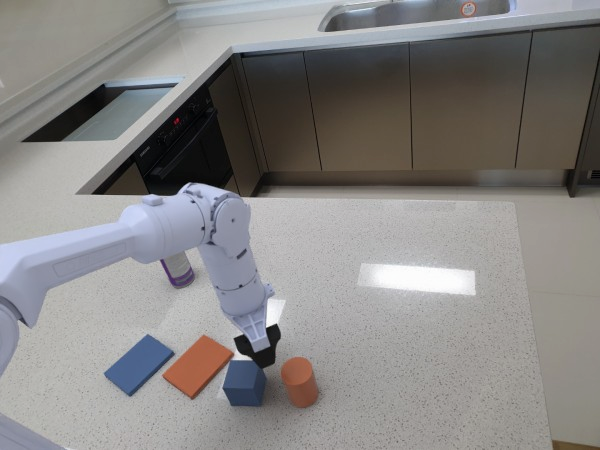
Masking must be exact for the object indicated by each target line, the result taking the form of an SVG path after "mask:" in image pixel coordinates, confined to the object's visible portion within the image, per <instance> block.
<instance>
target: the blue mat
mask: <svg viewBox="0 0 600 450" xmlns="http://www.w3.org/2000/svg"><path fill="white" fill-rule="evenodd" d="M174 355H175V352H174V350H172V349H171V348H169V347H168V346H166V345H165V344H163V343H162V342H161V341H159V340H158V339H156V338H155V337H153V336H152V335H150V334H149V333H146V335H144V336H143V337H142V338H141V339H140V340H139V341H138V342H137V343H135V344H134V345H133V346H132V347H131V348H130V349H129V350H128V351H127V352H125V353H124V354H123V355H122V356H121V357H120V358H119V359H118V360H117V361H116V362H114V363H113V364H112V365H111V366H109V368H107V369H106V371H104V372H103V375H104V376H105V378H107V379H108V380H109V381H111V383H113V384H114V385H115V386H117V387H118V388H119V389H120V390H121V391H123V392H124V393H125V395H127V396H129V397H132V396H133V395H134V394H135V393H136V392H138V390H139V389H140V388H141V387H142V386H143V385H144V384H145V383H146V382H147V381H148V380H150V378H151V377H152V376H153V375H154V374H156V373H157V372H158V371H159V370H160V369H161V368H162V367H163V366H164V365H165V364H166V363H167V362H168V361H169V360H170V359H171V358H172V357H173V356H174Z"/></svg>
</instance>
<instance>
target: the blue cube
mask: <svg viewBox="0 0 600 450" xmlns="http://www.w3.org/2000/svg"><path fill="white" fill-rule="evenodd" d="M267 380H268V378H267V375H266V373H265V370H264V369H261V368H259V367H258V366H257V365H256V363H255V362H254V361H253V360H252V359H230V360H229V363H228V367H227V370H226V374H225V377H224V380H223V384H222V387H221V389H222V391H223V392H224V395H225V397H226V399H227V400H228V402H229V405H230V406H232V407H233V406H234V407H235V406H236V407H237V406H239V407H241V406H242V407H262V404H263V399H264V395H265V394H264V393H265V390H266V389H265V388H266V385H267Z"/></svg>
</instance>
